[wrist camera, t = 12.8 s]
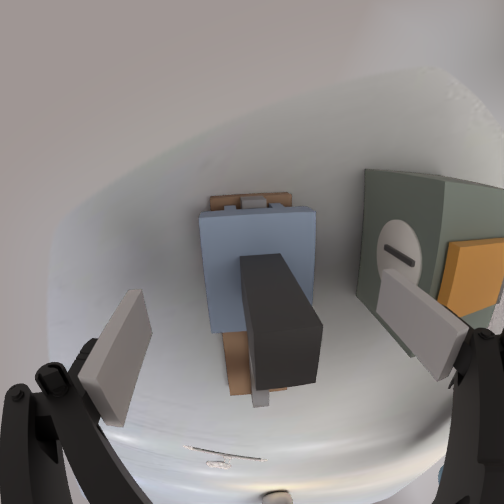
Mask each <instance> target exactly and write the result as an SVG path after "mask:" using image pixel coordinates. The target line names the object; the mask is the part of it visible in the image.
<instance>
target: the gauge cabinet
mask: <svg viewBox="0 0 504 504" xmlns="http://www.w3.org/2000/svg"><path fill="white" fill-rule="evenodd" d="M502 237H504V189H502V188H498V187H494V186H489V185H485V184H481V183H476V182H471V181H467V180H462V179H456V178H451V177H445V176H439V175H430V174H421V173H411V172H401V171H388V170H373V169H365V195H364V218H363V234H362V246H361V257H360V267H359V276H358V285H357V292H356V296H357V297H358V298H359V299H360V300H361V302H362V303H363V304H364V305H365V306H366V307H367V308H368V309H369V310H370V312H371V313H372V314H373V315H374V316H375V317H376V318H377V319H378V321H379V322H380V323H381V324H382V325H383V326H384V327H385V329H386V330H387V331H388V332H389V333H390V334H391V336H392V337H393V338H394V339H395V340H396V341H397V342H398V344H399V345H400V346H401V347H402V348H403V350H404V351H405V352H406V353H407V354H408V355H409V357H410V358H411V357H414V356H415V355H414V354H413V352H412V351H411V350H410V349H409V348H408V347H407V346H406V344H405V343H404V342H403V341H402V340H401V339H400V338H399V336H398V335H397V334H396V333H395V332H394V331H393V330H392V329H391V328H390V326H389V325H388V324H387V323H386V322H385V321H384V320H383V319H382V318H381V317H380V315H379V314H378V313H377V312H376V309H377V303H378V298H379V292H380V286H381V279H382V273H383V270H385V269H395V270H396V271H398V272H399V273H400V274H402V275H403V276H404V277H406V278H407V279H408V280H410V281H411V282H412V283H414V284H415V285H416V286H418V287H419V288H420V289H422V290H423V291H424V292H426V293H427V294H428V295H430V296H431V297H432V298H433V299H435V300H436V301H437V299H438V295H439V291H440V287H441V283H442V278H443V274H444V269H445V264H446V258H447V253H448V247H449V242H457V241H469V240H480V239H492V238H502ZM495 305H496V304H494V305H492V306H489V307H487V308H484V309H481V310H479V311H476V312H474V313H471V314H468V315H465V316H463V317H460V318H461V319H463V320H464V321H465V322H466V323H467V324H469V325H470V326H471V327H472V328H473V329H476V328H479V327H480V328H487V327H488V325H489V322H490V320H491V317H492V314H493V311H494V308H495Z"/></svg>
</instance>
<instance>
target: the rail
mask: <svg viewBox="0 0 504 504" xmlns="http://www.w3.org/2000/svg"><path fill="white" fill-rule="evenodd" d="M269 203H280V204H282V205H283V206H284V207H292V195H291V194H289V193H287V192H283V193H257V194H238V195H222V196H211V197H210V207H211V211H221V210H224V206H230V205H235V206H236V209H254V208H269ZM222 335H223V343H224V351H225V359H226V367H227V374H228V382H229V389H230V396H231V395H244V394H251V395H252V402H253V408H255V407H264V406H269V392H273V391H281V390H287V387H285V388H278V389H269V390H261V391H256V387H255V381H254V374H253V368H252V362H251V355H250V349H249V342H248V336H247V331H239V332H225V333H222Z"/></svg>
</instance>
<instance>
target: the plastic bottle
mask: <svg viewBox="0 0 504 504" xmlns="http://www.w3.org/2000/svg"><path fill="white" fill-rule="evenodd" d="M262 504H293V499H292V497H291V495H290V494H288V493H287V492H276V493H271V494H268V495H266V496H264V498H263V499H262Z"/></svg>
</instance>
